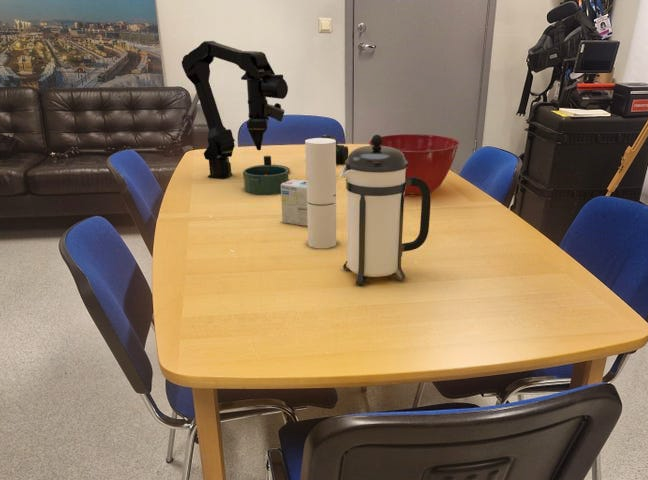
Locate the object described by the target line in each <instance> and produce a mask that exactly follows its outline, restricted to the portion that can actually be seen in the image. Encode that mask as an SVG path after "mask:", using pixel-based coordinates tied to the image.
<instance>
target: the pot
mask: <svg viewBox="0 0 648 480" xmlns="http://www.w3.org/2000/svg"><path fill="white" fill-rule="evenodd" d="M255 166H256V167H252V166H249V167H250V168H249V167H247V168H245V169H243V171H242V175H243V187H244V188H243V189H244V191H245V192H246V193H248V194H253V195H260V196H269V195H270V196H271V195H279V194H281V184H282V183H285V182H287V181H290V178H289V172H288V169H287V168H284V167H280V166H257V165H255ZM265 174H267V175H265Z"/></svg>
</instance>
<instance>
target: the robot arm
mask: <svg viewBox="0 0 648 480" xmlns="http://www.w3.org/2000/svg"><path fill="white" fill-rule="evenodd" d="M215 58H217V59H219V60H222V61H225V62H228V63H231V64H235V65H236V66H237V67H238V68H239V69H241V70H242V71H243V72H244V74H243V75H242V76H241V77H240V79H241V81H242V80H243V81H246V88H247V89H246V90H247V104H248V119H247V121H246V129H247V131H248V133H249V135H250V137H251V139H252V142H253V144H254V145H255V148H256V150H257V151H261V150H262V145H263V139H264V134H265V132H267V130H268V124H269V121H270V118H272V119H274V120H276V121H277V122H283V118H284V115H285V109H283V108H282V105H281V103H278V102H276V103H274V104H270V103H269V102H268V99H267V98H271V99H280V100H284V99H286V97H287V95H288V93H289V86H288V83H287V81H286V80H285V79H284V74H276V73H275V71H274V70H273V68H272V65H271V64H270V62H269V61H268V58H267V56H266V53H264V52H263V51H257V50H255V51H254V50H241V49H238V48H235V47H232V46H229V45H225V44H222V43H218V42H216V41H215V40H204V41H202V42H201V43H200V44H199V46H197V47H195V48H194V49H192V50H191V51H189V53H187V54H185V55H183V57H182V60H181V67H182V69H183V72H184V73H185V76H186V78H187V79H188V80H189V81H190V82H191V83H192V85H194V88H195V91H196V94H197V97H198V101H199V104H200V107H201V109H202V112H203V116H204V118H205V122H206V125H207V129H208V133H207V144H208V146H207V147H206V149H205V151H204V152H203V157H204V159H205V160H207V161H208V167H209V175H207V177H208V178H214V179H227V178H229V177H230V176H233V172H232V164H231V162H230V158H232V156H233V153H234V149H235V146H236V145H235V142H236V140H235V138H234V136H233V131H232V129H230V128H228V129H227V128H226V127H225V126H224V123H223V121H222V118H221V115H220V112H219V109H218V106H217V102H216V99H215V97H214V92H213V90H212V87H211V83H210V75H211V68H210V65H211V64H212V63H213V62H214V60H215Z"/></svg>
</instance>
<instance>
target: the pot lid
mask: <svg viewBox="0 0 648 480" xmlns="http://www.w3.org/2000/svg"><path fill="white" fill-rule="evenodd" d="M256 166H280V167H284V168H287V169H288V173H289V172H290V169H291V168H290V167H288V166H286V165H282V164H272V156H271V155H264V156H263V164H259V165H258V164H257V165H252V166H249V167H248V168H250V167H256Z"/></svg>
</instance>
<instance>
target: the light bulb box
mask: <svg viewBox="0 0 648 480" xmlns="http://www.w3.org/2000/svg"><path fill="white" fill-rule="evenodd" d="M280 196H281V197H280V199H281V217H282V223H283V224H284V223H285V224H291V225H297V226H305V227H308V219H307V185H306V180H299V179H293V178H292V179H289V181H287V182H285V183H282V184H281V193H280Z"/></svg>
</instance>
